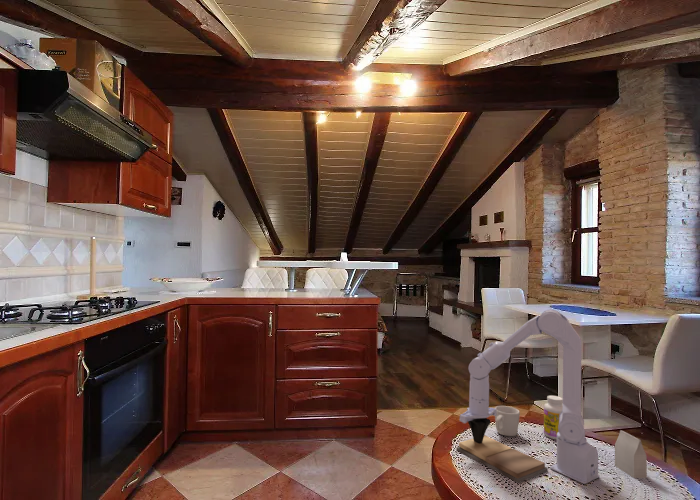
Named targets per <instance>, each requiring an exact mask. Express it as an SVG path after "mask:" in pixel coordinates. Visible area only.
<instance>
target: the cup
mask: <svg viewBox="0 0 700 500" xmlns="http://www.w3.org/2000/svg"><path fill="white" fill-rule="evenodd" d="M494 408H495V409H497V415H496V416H494V420H495V428H496V431H497V432H498V434H500V435H502V436H504V437H516V436H517V434H518V431H519V425H520V414H521V412H520V410H519V409H518V408H516V407H513V406H508V405H507V406H506V405H497V406H494Z"/></svg>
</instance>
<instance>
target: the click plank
mask: <svg viewBox="0 0 700 500" xmlns="http://www.w3.org/2000/svg"><path fill="white" fill-rule="evenodd" d="M458 447H461V448H463V449H464V450H466V451H468V452H470V453H472V454H473V455H475V456H477V457H479V458H481V459H483V460H484V461H486V457H489V456H492V455H495V454H498V453H501V452H504V451H507V450H510V449H513V448H512V447H510V446H508V445H507V444H505V443H502V442H500V441H498V440H495V439H493V438H492V437H490V436H487V435H484V438H483V441H482V443H480V444H479V443H477V442H475V441H474V439H473V438H471V439H467V440H463V441H460V442H458Z"/></svg>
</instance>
